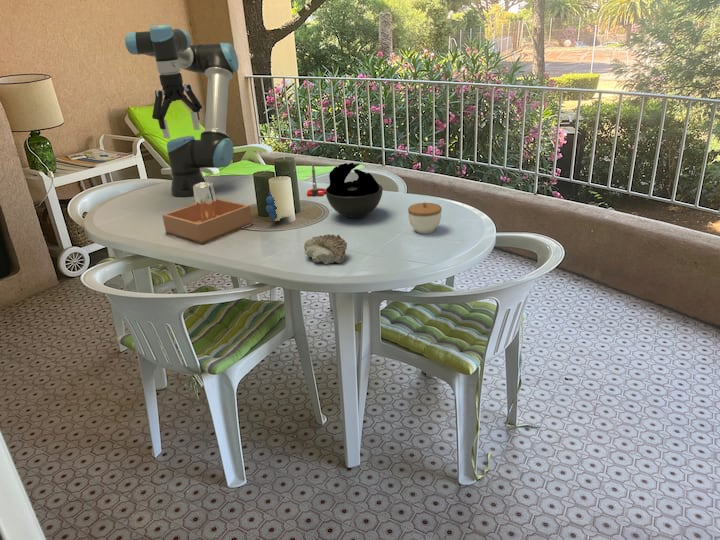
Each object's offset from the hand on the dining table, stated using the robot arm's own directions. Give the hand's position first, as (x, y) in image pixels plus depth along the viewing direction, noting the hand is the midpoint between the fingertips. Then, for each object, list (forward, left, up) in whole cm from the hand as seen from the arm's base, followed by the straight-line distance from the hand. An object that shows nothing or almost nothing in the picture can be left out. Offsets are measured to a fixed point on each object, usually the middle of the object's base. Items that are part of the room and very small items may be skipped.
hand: (182, 133), depth 203 cm
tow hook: (-39, +28, -30) cm, 57 cm away
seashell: (+10, +76, -30) cm, 82 cm away
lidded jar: (-24, +89, -30) cm, 97 cm away
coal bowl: (-24, +60, -30) cm, 71 cm away
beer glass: (+12, +23, -29) cm, 39 cm away
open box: (+12, +23, -29) cm, 39 cm away
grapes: (-6, +40, -30) cm, 50 cm away
